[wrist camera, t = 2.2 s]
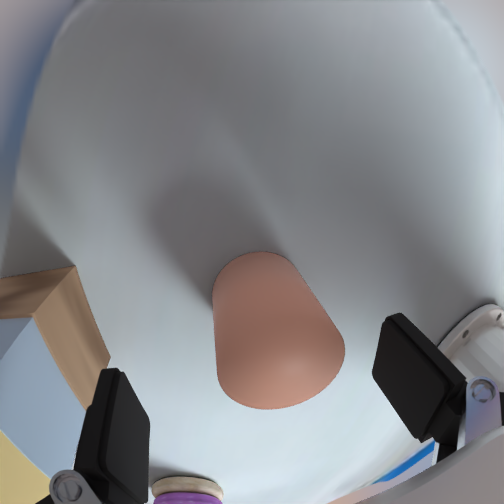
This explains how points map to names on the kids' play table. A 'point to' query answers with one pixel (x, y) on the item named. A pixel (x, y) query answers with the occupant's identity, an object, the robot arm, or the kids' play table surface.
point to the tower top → (19, 477)
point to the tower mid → (36, 399)
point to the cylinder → (271, 334)
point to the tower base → (60, 324)
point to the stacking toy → (186, 491)
